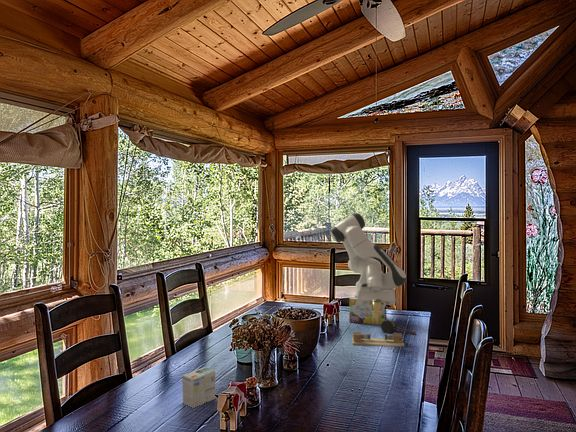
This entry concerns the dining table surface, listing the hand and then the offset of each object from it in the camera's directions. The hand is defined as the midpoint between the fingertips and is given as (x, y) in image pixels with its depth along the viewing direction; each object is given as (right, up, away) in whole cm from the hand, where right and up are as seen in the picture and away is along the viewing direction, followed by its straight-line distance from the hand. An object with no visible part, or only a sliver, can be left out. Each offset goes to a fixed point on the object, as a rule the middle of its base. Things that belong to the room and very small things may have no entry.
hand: (376, 310), depth 224 cm
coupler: (0, -7, +1) cm, 7 cm away
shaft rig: (+1, -17, +2) cm, 17 cm away
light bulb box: (-79, -19, -65) cm, 104 cm away
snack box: (+2, -17, +41) cm, 44 cm away
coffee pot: (+16, -17, +19) cm, 30 cm away
